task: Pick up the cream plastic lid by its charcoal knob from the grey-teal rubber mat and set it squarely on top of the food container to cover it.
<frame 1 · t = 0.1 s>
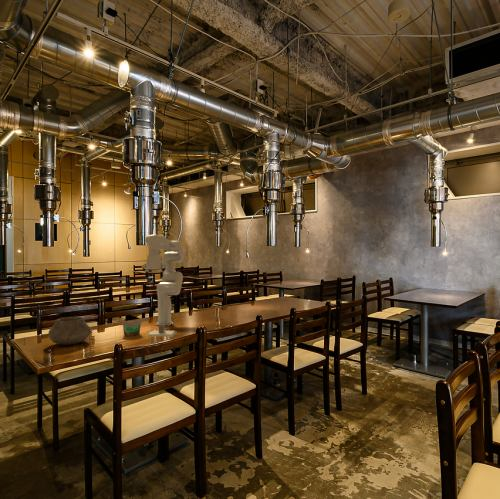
hand: (154, 278, 225), 37 cm above the table, tool pointing down, fingers open, 9 cm apart
mat: (161, 335, 215), on the table
lid: (161, 333, 215), point 1 cm above the table, touching mat
grey rounded lump: (70, 344, 195), on the table
food container: (131, 337, 210), on the table
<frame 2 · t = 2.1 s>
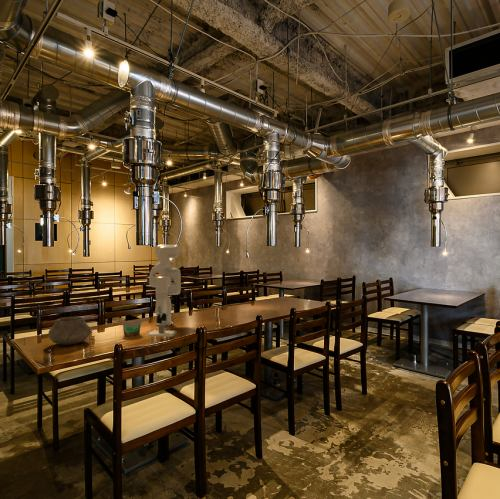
hand: (161, 322, 214), 9 cm above the table, tool pointing down, fingers open, 9 cm apart
nothing on the table moved.
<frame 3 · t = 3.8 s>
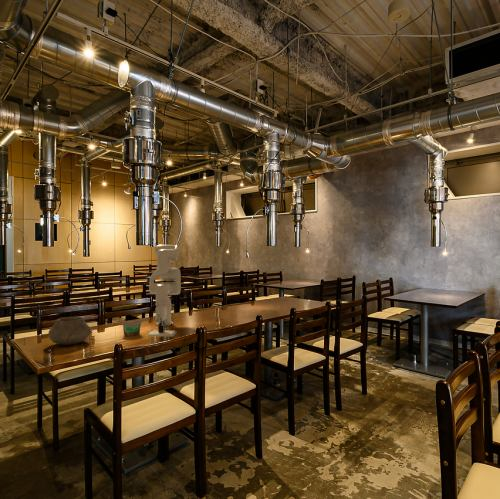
hand: (161, 331, 215), 3 cm above the table, tool pointing down, fingers closed on lid, 3 cm apart
lid: (161, 333, 215), point 1 cm above the table, touching gripper, mat
everything else where it was.
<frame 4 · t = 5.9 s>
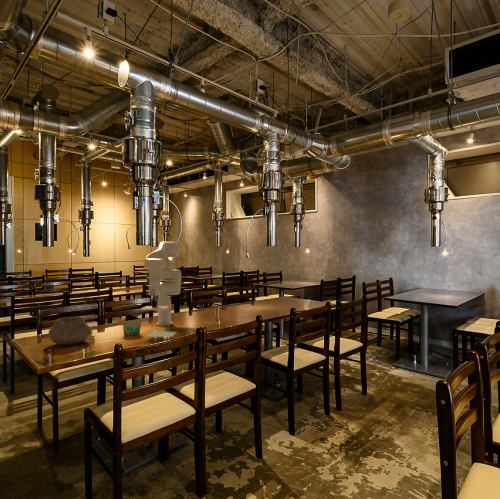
hand: (155, 305, 214), 19 cm above the table, tool pointing down, fingers closed on lid, 3 cm apart
lid: (155, 308, 214), point 17 cm above the table, touching gripper
everything else where it was.
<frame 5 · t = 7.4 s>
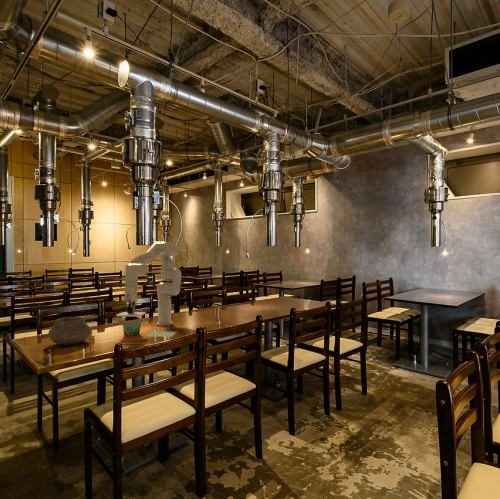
hand: (131, 312, 210), 16 cm above the table, tool pointing down, fingers closed on lid, 3 cm apart
lid: (131, 315, 210), point 14 cm above the table, touching gripper
everything else where it was.
when the fingers open (14 cm above the table, at t = 8.4 s): lid drops 2 cm, resting on food container.
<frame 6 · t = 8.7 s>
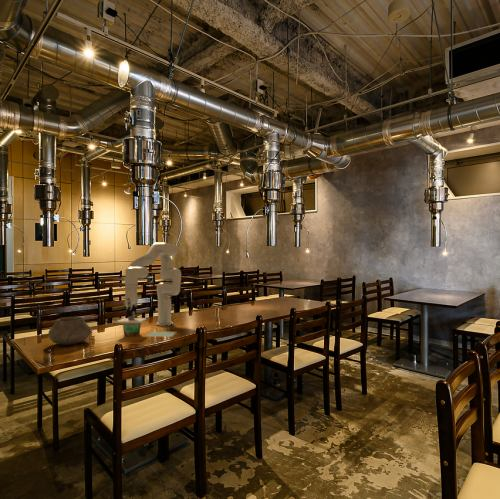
hand: (131, 314, 211), 14 cm above the table, tool pointing down, fingers open, 6 cm apart
lid: (131, 321, 211), point 10 cm above the table, touching food container
food container: (131, 337, 210), on the table, touching lid
everything else where it was.
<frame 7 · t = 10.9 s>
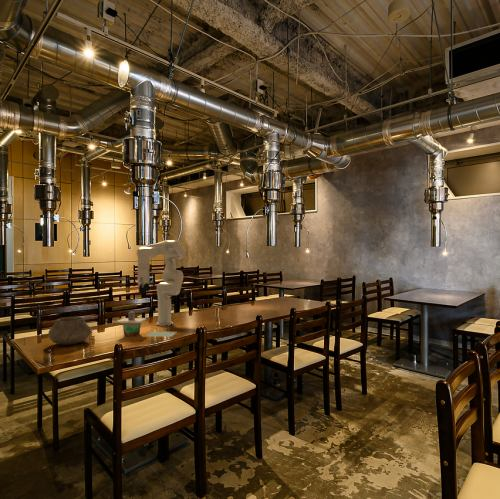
hand: (144, 292, 219), 28 cm above the table, tool pointing down, fingers open, 9 cm apart
nothing on the table moved.
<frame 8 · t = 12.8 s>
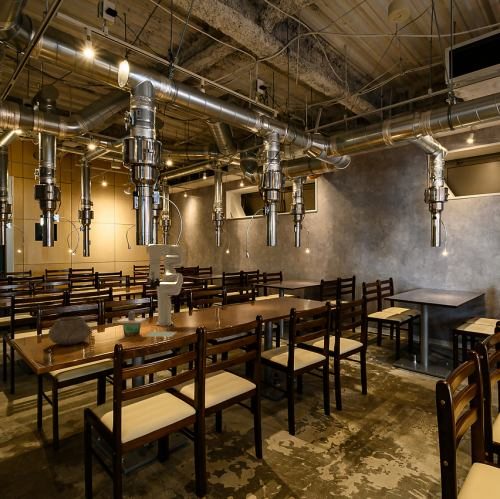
hand: (155, 287, 226), 30 cm above the table, tool pointing down, fingers open, 9 cm apart
nothing on the table moved.
at the end: lid 0.2 cm off-centre on the food container, point 10.2 cm above the food container's base; lid tilted 0°; the gripper is holding nothing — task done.
